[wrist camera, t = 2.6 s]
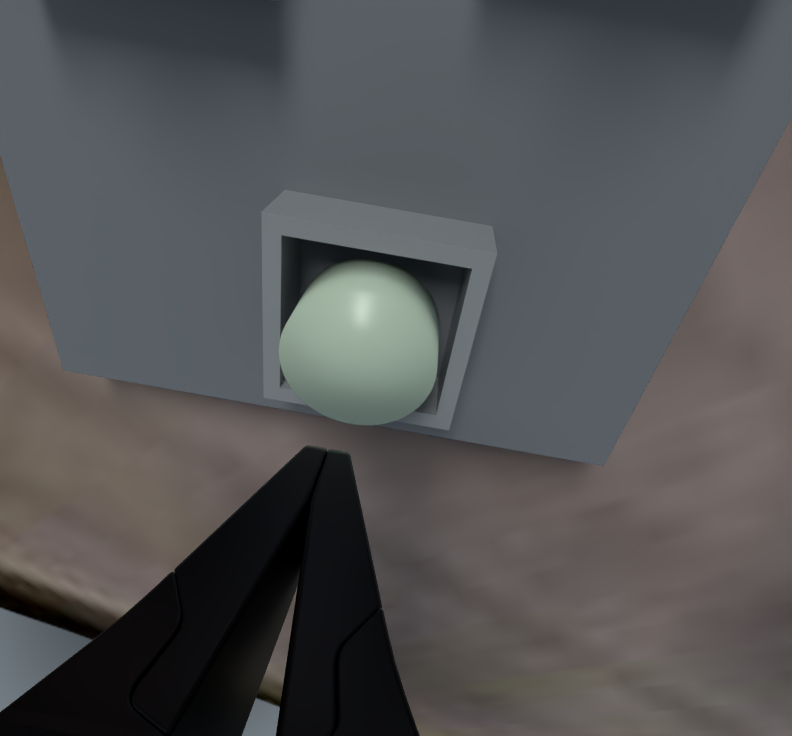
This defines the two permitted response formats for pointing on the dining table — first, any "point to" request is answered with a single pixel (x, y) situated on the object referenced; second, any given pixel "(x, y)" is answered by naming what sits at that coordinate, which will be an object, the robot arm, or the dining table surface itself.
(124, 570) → the dining table surface
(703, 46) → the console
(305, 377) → the sage button
